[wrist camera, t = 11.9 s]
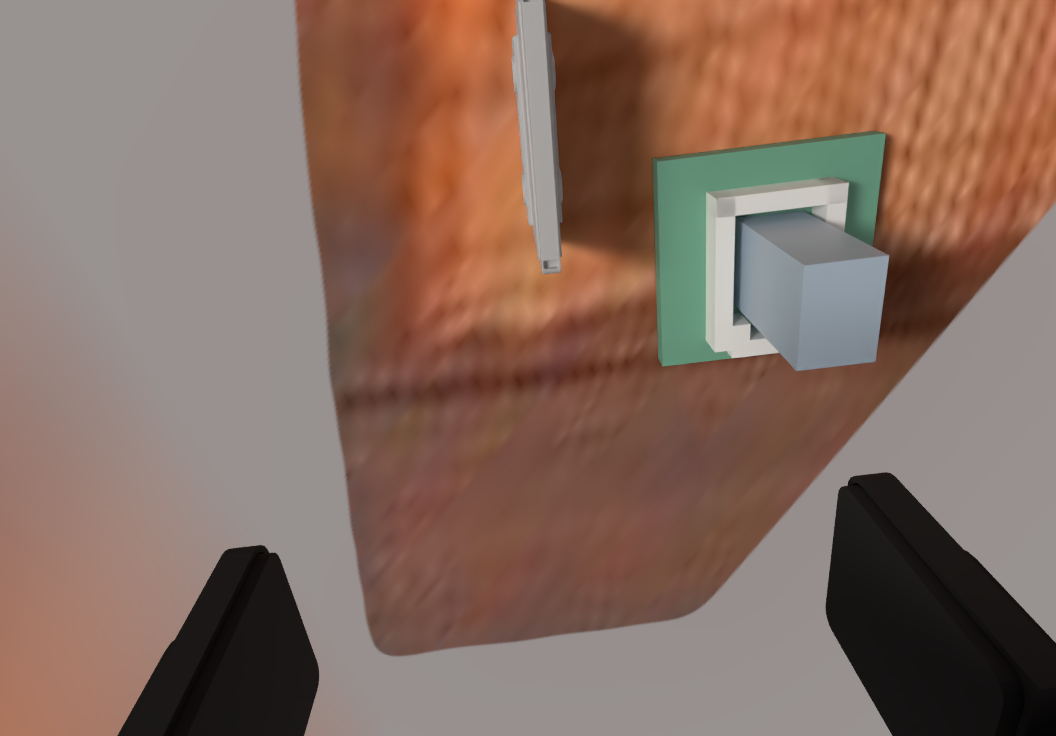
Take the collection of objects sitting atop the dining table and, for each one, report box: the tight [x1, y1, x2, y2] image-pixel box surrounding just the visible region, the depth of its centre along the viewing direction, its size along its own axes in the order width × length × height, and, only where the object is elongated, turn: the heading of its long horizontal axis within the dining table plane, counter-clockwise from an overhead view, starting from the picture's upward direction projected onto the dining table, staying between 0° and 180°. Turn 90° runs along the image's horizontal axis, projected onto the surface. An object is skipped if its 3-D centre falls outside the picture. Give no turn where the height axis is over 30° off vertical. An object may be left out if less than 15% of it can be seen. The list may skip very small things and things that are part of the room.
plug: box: [733, 210, 889, 371], centre depth 33 cm, size 6×4×9 cm, turn 6°
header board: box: [652, 131, 886, 366], centre depth 37 cm, size 12×12×3 cm
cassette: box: [512, 0, 563, 274], centre depth 31 cm, size 12×2×8 cm, turn 5°
